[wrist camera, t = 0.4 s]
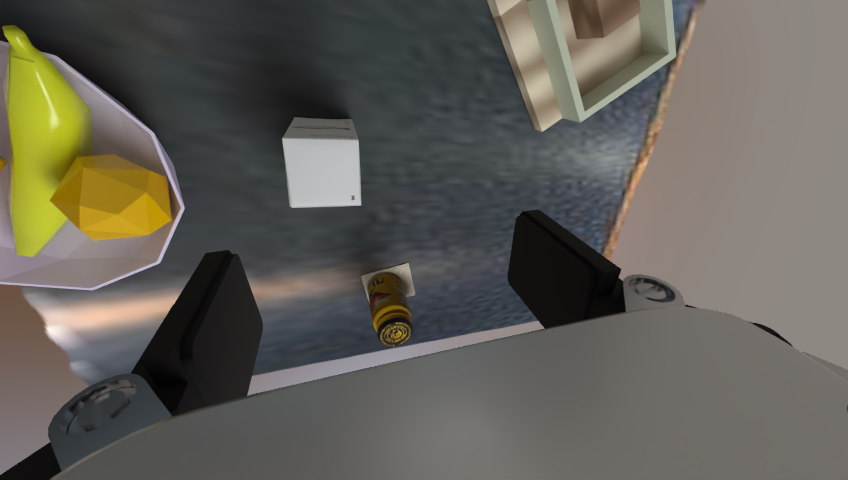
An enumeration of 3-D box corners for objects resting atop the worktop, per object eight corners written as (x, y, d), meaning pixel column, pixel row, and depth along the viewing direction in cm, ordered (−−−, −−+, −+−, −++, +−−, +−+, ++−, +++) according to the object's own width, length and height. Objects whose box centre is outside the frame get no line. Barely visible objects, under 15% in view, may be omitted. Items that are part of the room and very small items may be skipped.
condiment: (360, 275, 54) (368, 325, 44) (408, 262, 55) (426, 307, 45) (370, 306, 58) (379, 358, 48) (414, 293, 59) (432, 342, 49)
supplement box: (353, 117, 42) (361, 138, 31) (354, 172, 45) (362, 208, 35) (292, 114, 40) (280, 136, 29) (298, 172, 43) (289, 210, 33)
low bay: (526, 2, 39) (545, -3, 35) (634, -77, 37) (664, -90, 34) (562, 117, 47) (580, 122, 44) (650, 56, 46) (676, 56, 43)
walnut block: (567, -2, 40) (595, -8, 35) (601, -27, 39) (634, -37, 35) (576, 39, 42) (604, 37, 38) (609, 16, 42) (640, 11, 38)
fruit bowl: (115, 295, 45) (59, 358, 36) (-190, 145, 31) (-422, 185, 21) (257, 170, 42) (237, 203, 32) (-8, -64, 27) (-185, -127, 18)
